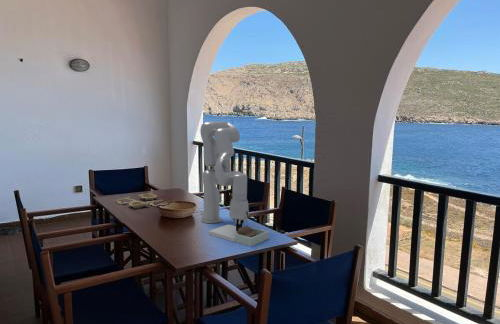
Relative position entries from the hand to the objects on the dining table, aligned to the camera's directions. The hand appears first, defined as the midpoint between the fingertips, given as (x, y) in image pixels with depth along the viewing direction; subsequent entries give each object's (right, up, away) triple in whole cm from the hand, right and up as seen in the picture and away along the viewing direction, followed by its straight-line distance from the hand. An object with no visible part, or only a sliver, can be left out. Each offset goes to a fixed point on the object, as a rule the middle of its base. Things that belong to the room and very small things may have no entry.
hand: (239, 230), depth 199 cm
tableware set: (-71, +7, +68) cm, 98 cm away
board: (-4, -3, +4) cm, 6 cm away
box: (+7, -4, -5) cm, 9 cm away
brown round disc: (+3, -2, -2) cm, 5 cm away
